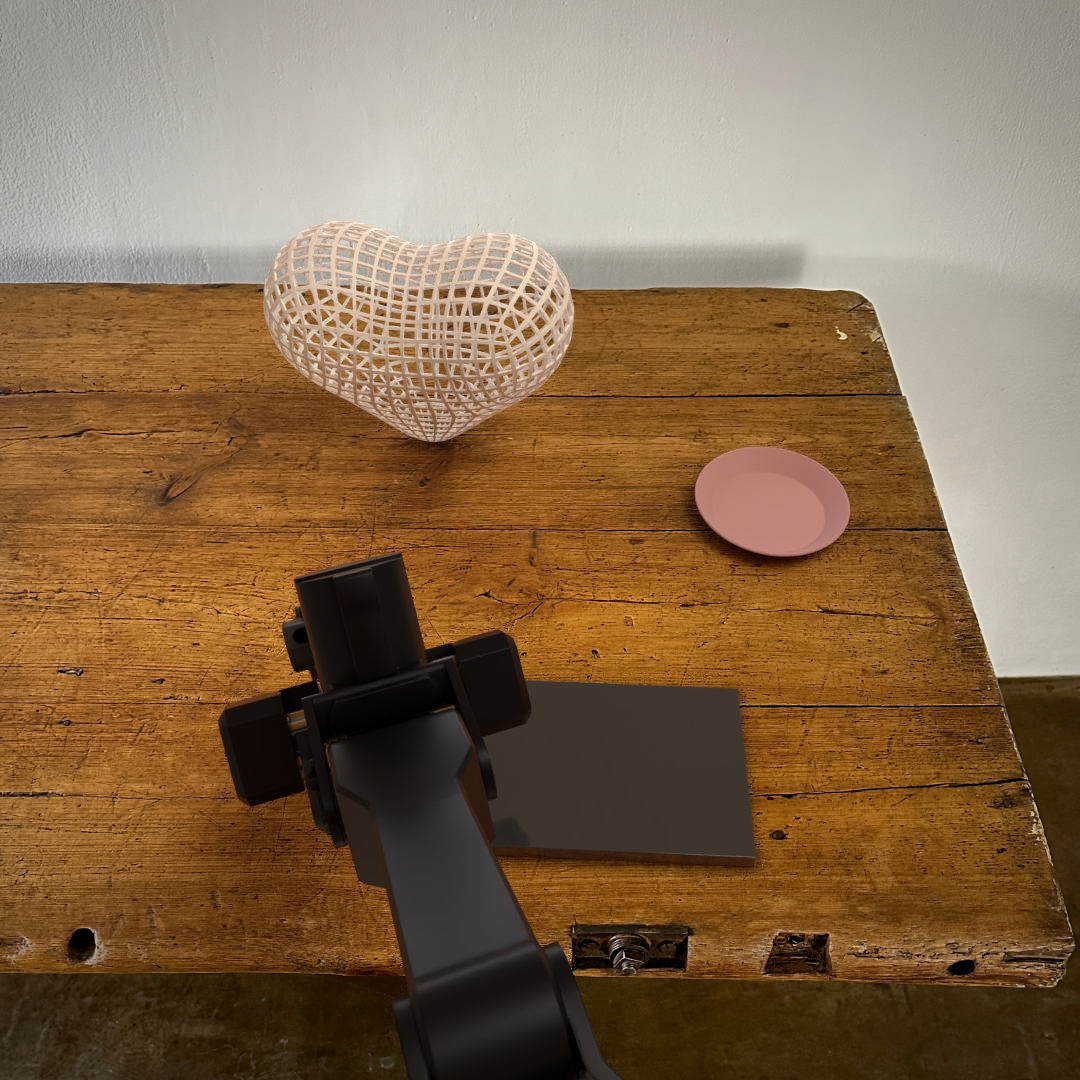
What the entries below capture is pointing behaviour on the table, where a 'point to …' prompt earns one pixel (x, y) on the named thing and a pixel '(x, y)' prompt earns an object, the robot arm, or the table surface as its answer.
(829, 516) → the plate
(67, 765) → the table surface
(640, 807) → the serving board
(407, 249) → the heart
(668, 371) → the table surface
